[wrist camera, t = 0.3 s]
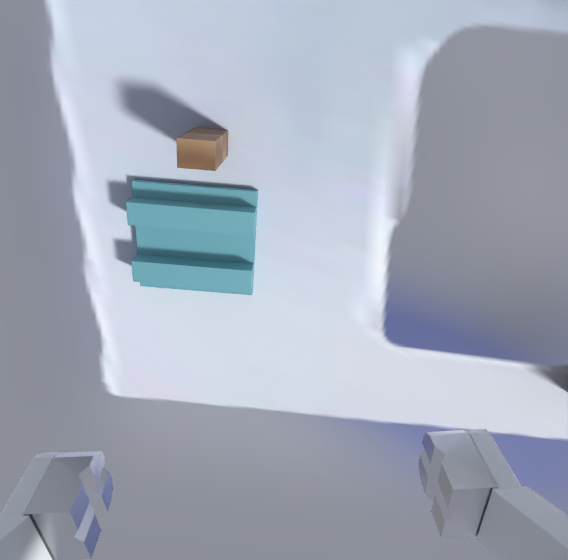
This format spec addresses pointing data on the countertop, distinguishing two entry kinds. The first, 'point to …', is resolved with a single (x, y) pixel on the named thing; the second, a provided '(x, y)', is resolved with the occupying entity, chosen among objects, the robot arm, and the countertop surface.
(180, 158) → the brown rectangular block
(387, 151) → the countertop surface
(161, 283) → the slotted rack
